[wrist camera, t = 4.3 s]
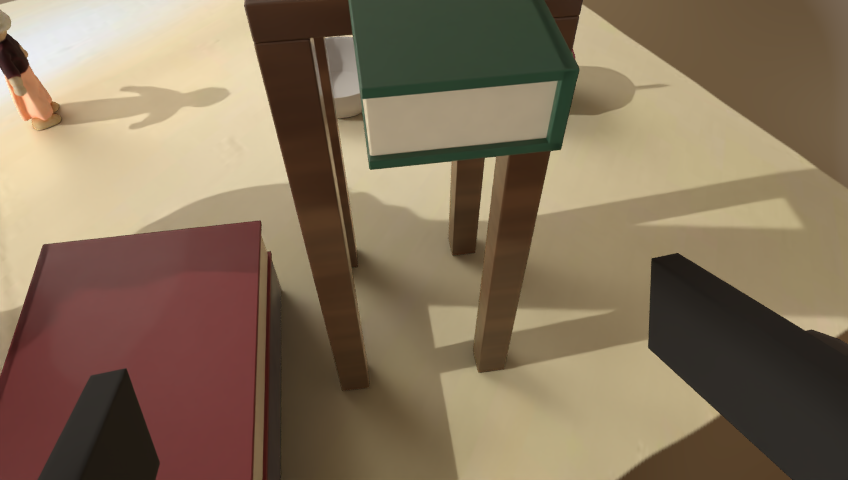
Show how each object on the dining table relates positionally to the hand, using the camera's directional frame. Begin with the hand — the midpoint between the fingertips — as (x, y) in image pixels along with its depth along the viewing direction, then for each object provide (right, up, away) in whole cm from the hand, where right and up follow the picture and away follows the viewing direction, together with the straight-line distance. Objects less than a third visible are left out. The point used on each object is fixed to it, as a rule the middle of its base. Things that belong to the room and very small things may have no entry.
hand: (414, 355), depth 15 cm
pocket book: (0, +13, +7) cm, 15 cm away
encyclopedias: (-17, -10, +27) cm, 33 cm away
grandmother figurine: (-39, +15, +48) cm, 64 cm away
